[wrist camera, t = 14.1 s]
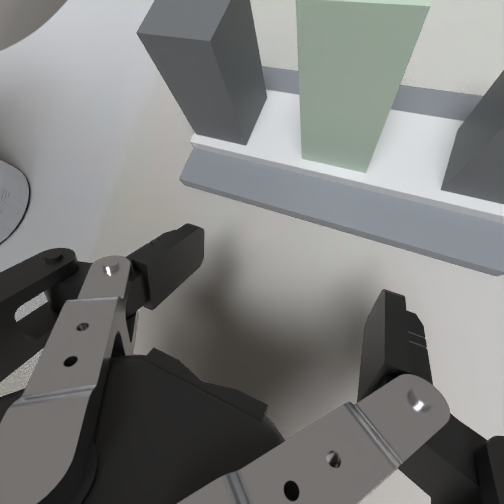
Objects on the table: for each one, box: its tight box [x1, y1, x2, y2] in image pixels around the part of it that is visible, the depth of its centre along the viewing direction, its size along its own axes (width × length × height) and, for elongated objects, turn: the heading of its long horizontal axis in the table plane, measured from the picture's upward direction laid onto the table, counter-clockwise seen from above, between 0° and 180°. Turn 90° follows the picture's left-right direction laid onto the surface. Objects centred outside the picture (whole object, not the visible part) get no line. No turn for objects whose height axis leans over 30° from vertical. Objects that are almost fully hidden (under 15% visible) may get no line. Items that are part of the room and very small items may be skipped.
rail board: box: [137, 0, 504, 276], centre depth 16 cm, size 23×12×10 cm, turn 68°
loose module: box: [296, 0, 432, 173], centre depth 14 cm, size 4×5×10 cm
